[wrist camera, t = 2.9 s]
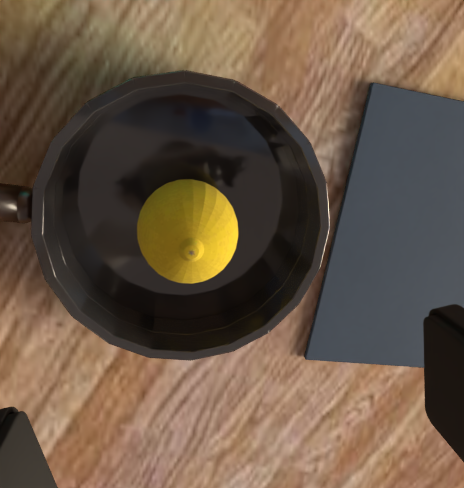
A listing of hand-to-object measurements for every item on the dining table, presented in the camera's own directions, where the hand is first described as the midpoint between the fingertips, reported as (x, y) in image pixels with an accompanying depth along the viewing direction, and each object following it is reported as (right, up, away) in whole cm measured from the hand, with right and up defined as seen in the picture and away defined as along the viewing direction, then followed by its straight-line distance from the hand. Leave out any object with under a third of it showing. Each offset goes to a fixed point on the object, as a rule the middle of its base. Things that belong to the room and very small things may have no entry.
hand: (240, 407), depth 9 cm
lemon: (-3, +6, +17) cm, 18 cm away
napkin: (+15, +4, +20) cm, 26 cm away
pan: (-3, +6, +17) cm, 18 cm away
